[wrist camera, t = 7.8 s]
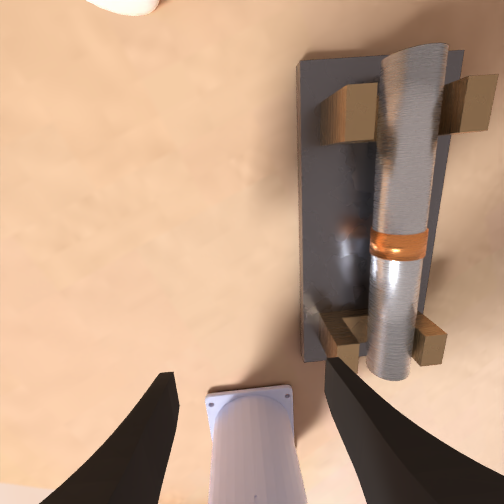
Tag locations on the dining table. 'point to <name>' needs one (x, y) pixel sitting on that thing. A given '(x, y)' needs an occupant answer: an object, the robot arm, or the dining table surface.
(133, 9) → the unicorn horn
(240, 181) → the dining table surface
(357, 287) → the grey tube holder
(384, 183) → the tube
